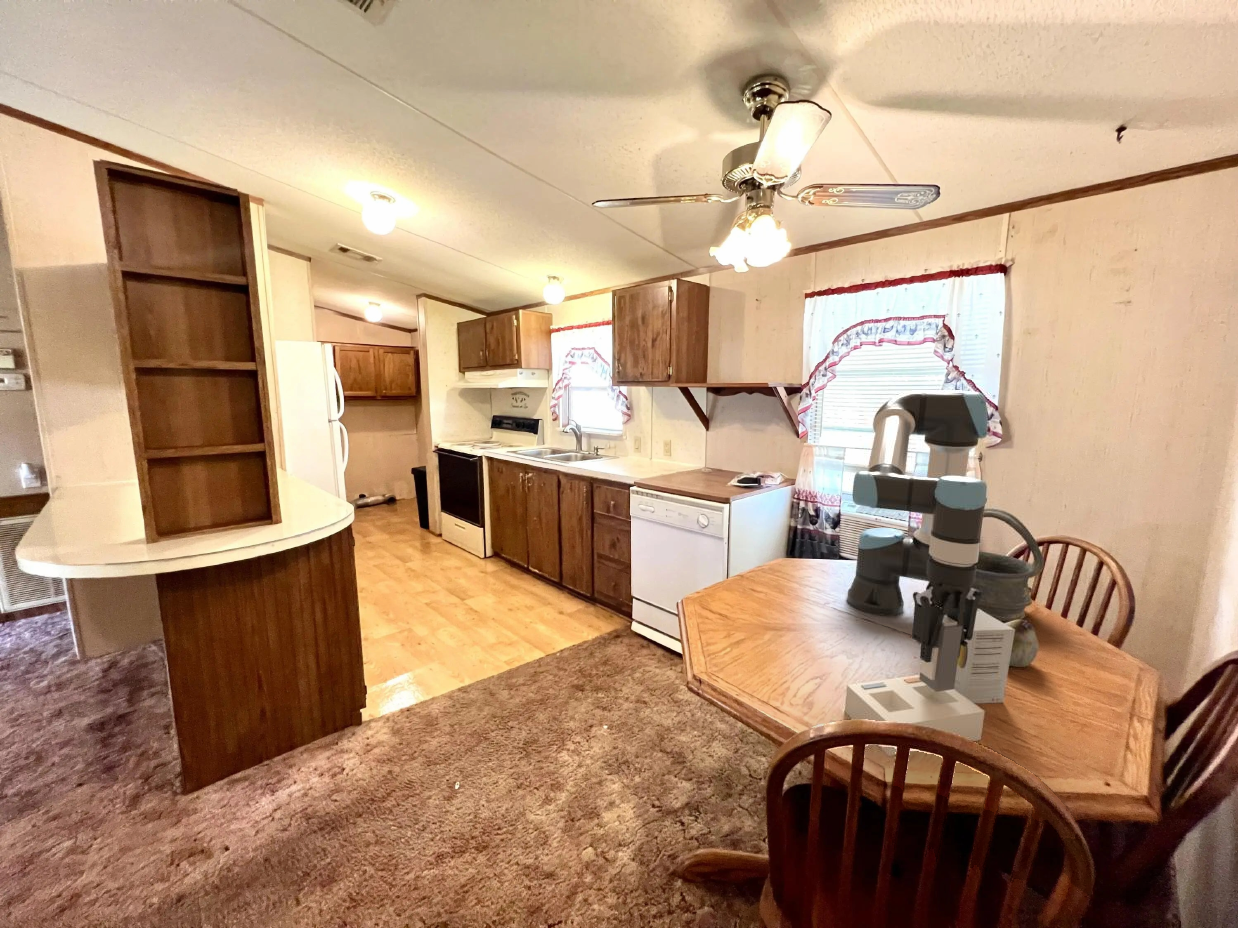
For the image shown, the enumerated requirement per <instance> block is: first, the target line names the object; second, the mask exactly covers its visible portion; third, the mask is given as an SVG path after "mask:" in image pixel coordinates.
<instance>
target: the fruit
mask: <svg viewBox="0 0 1238 928" xmlns="http://www.w3.org/2000/svg"><path fill="white" fill-rule="evenodd" d="M1003 623H1004V622H1003ZM1004 624H1006V625H1008V626H1009V627H1011V628H1013V629H1015V633H1014V639H1013V645H1012V651H1011V657H1010V663H1009V667H1010V666H1012V667H1015V668H1023V667H1027V666H1029V665H1031V664H1032V663H1033V661H1034V660H1035V659H1036V657H1037V655H1038V654H1037V653H1038V652H1039V650H1040V649H1039V648H1040V646H1039V645H1040V644H1039V641H1038V638H1037V634H1036V631H1035V628H1034V625H1032V623H1030V621H1029V620H1024V619H1021V620H1014V621H1006V622H1005V623H1004Z"/></svg>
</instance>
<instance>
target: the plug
mask: <svg viewBox="0 0 1238 928" xmlns="http://www.w3.org/2000/svg"><path fill="white" fill-rule="evenodd" d="M961 633H962V626H961V625H959V624H957V622H956V621H954V620H953V619H951V618H949V617H947V616H945V615H944V618H943V622H942V625H941V628H940V631H939V635H938V638H937V641H936V645H935V646H936V647H937V648H939V649H938V657H937V665H936V673H935V680H931V679H929V678H928V677H926V676H925V675H924V674H922V673H921V672H920V671H919V675H920V677H919V679H920V680H921V681H922V682H924V683H925V684H926V685H928V686H929V687H930V688H932V689H933V690H935V691H936V692H939V691H945V690H952V689H954V685H955V678H956V670H957V663H958V656H959V648H960V641H961Z"/></svg>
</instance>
